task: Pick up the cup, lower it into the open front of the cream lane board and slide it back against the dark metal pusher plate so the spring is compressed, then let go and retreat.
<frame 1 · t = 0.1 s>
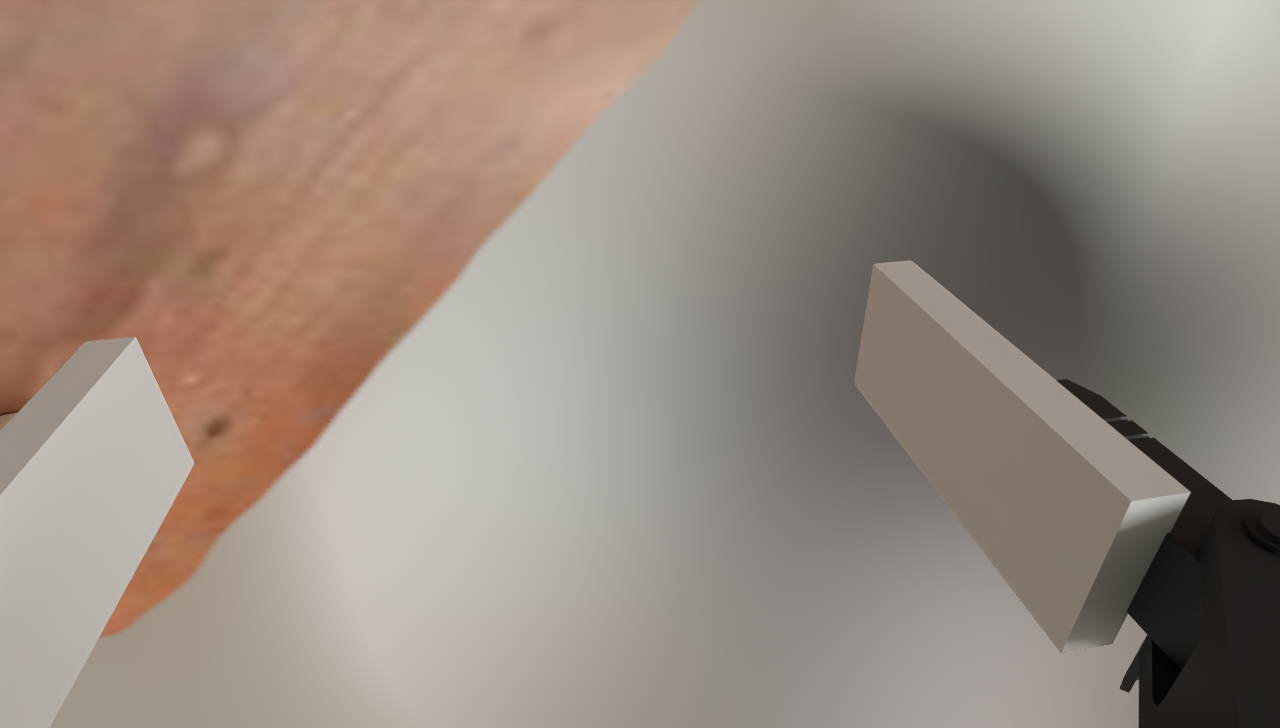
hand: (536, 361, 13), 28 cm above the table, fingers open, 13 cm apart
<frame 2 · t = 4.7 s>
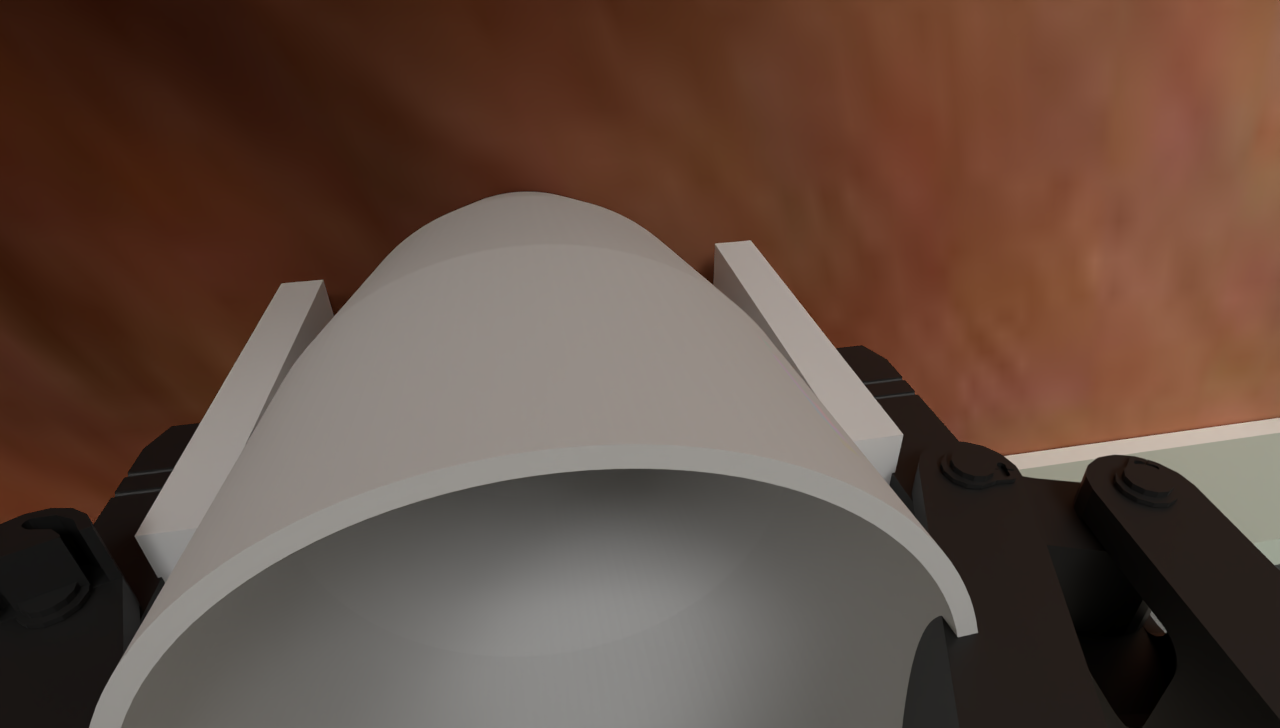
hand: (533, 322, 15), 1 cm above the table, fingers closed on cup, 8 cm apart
lane: (958, 631, 24), on the table
cup: (532, 302, 15), on the table, touching gripper
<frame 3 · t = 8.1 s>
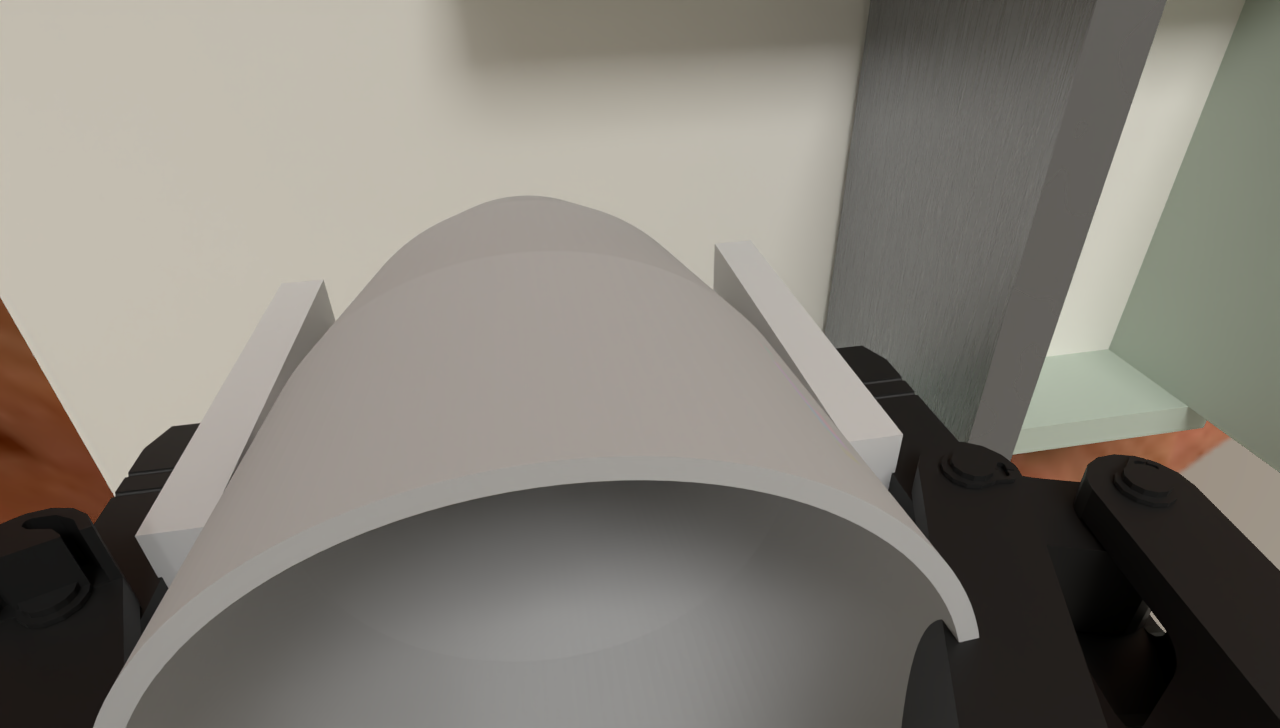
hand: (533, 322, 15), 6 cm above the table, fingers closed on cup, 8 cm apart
lane: (662, 194, 20), on the table
cup: (532, 305, 15), point 5 cm above the table, touching gripper
pusher: (932, 241, 17), point 5 cm above the table, slide at 0.0 cm
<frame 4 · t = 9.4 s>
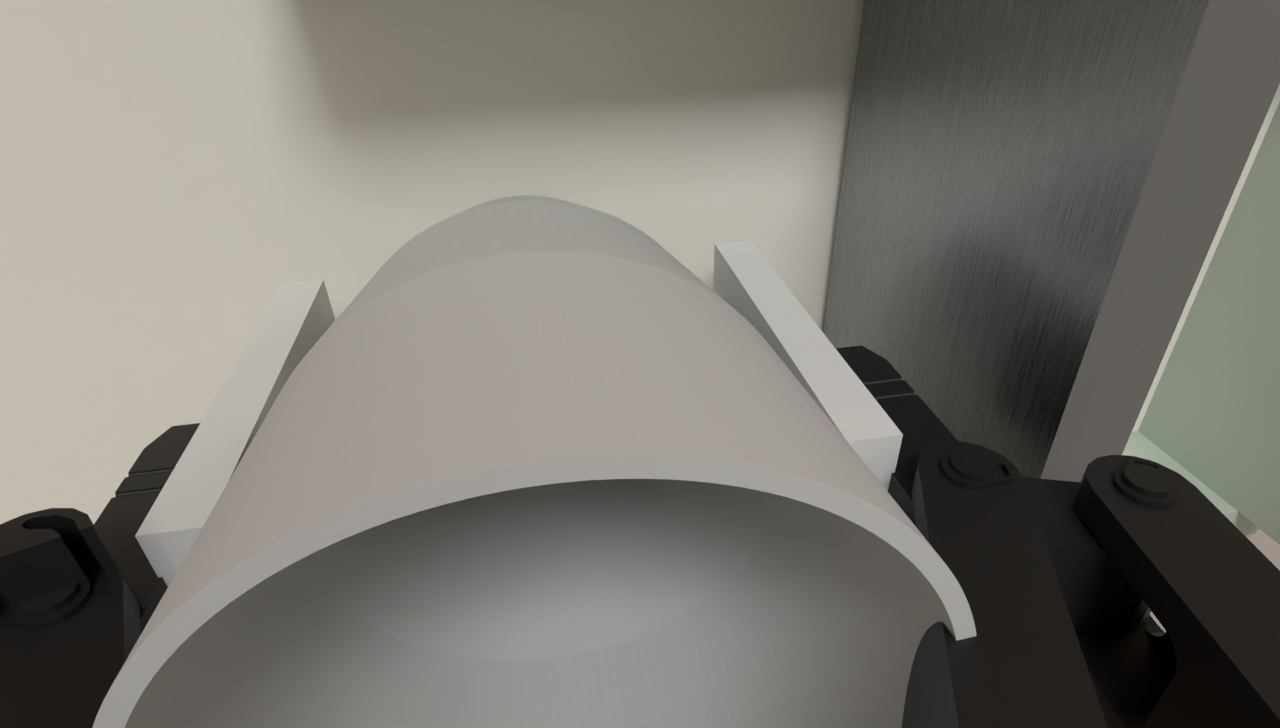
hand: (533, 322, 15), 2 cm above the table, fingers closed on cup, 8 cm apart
lane: (595, 270, 16), on the table
cup: (532, 305, 15), point 1 cm above the table, touching gripper
pusher: (941, 341, 13), point 5 cm above the table, slide at 0.4 cm, touching gripper
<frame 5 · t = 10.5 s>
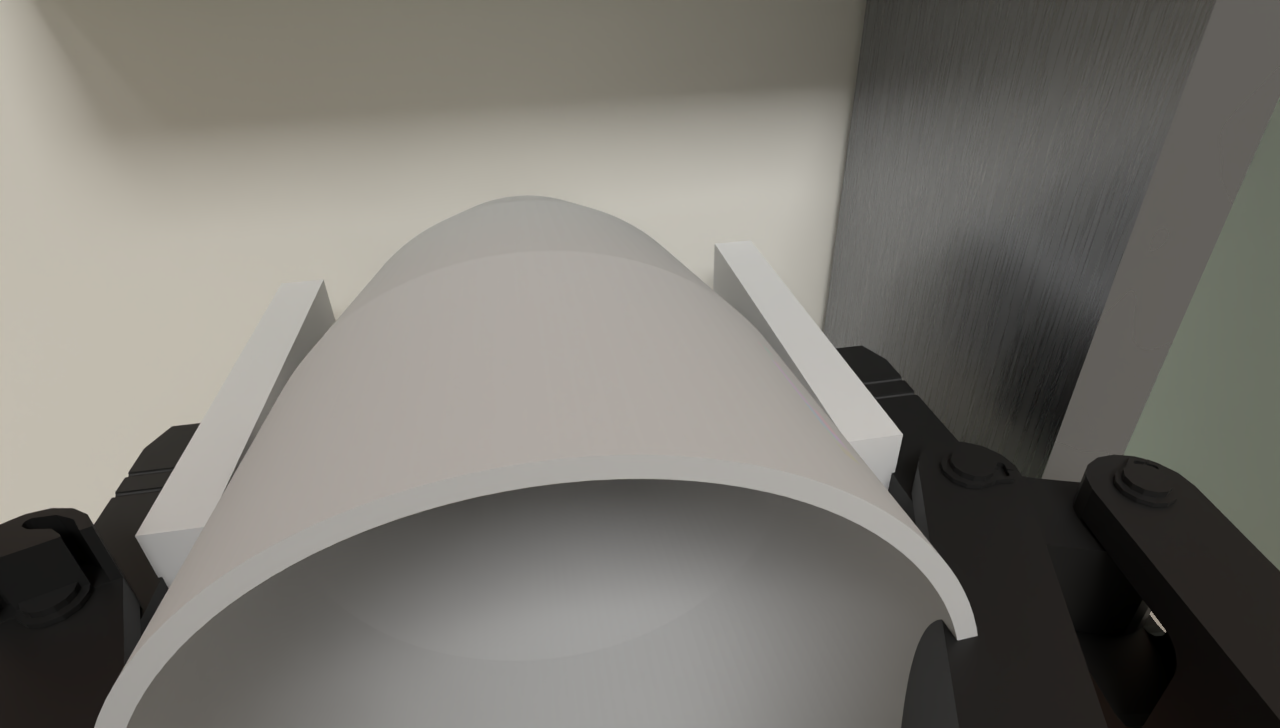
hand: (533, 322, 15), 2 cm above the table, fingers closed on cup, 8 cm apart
lane: (418, 286, 16), on the table
cup: (532, 305, 15), point 1 cm above the table, touching gripper
pusher: (942, 342, 13), point 5 cm above the table, slide at 4.3 cm, touching gripper
when the fingers open (2 cm above the table, at t = 11.5 s): cup stays where it is, resting on lane.
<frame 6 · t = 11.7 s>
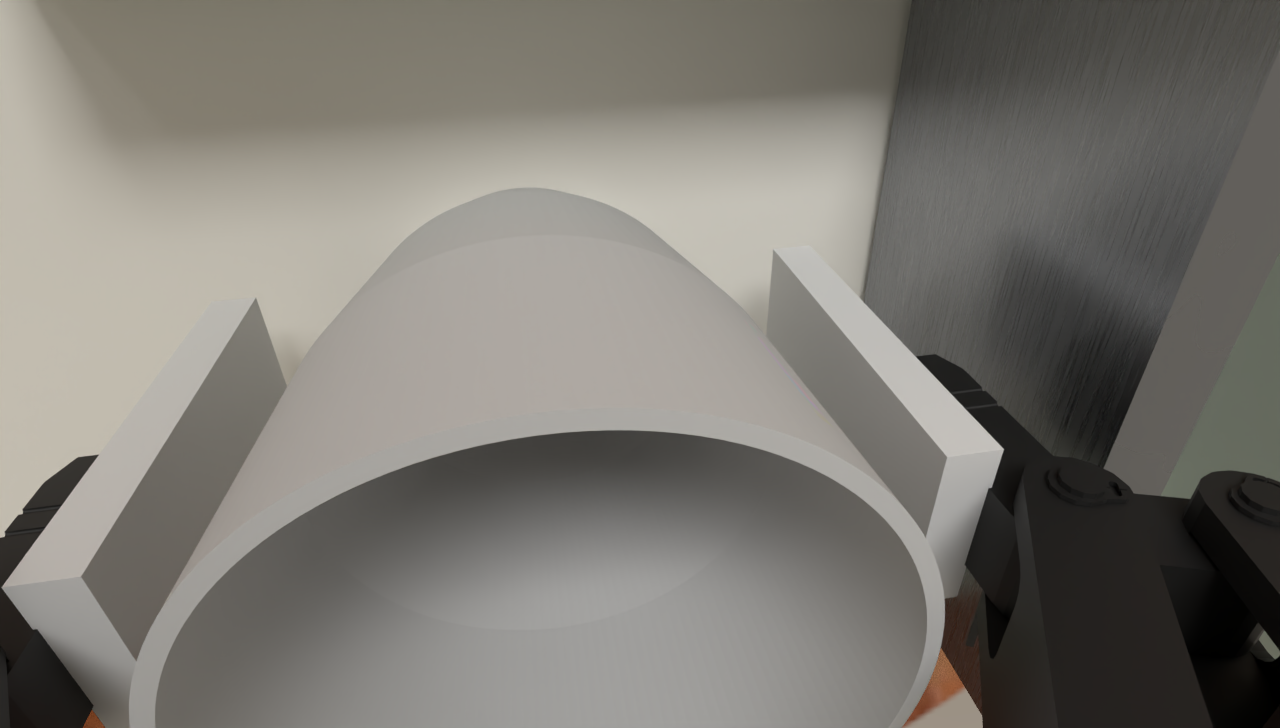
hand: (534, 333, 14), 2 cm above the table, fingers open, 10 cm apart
lane: (421, 292, 16), on the table
cup: (533, 294, 16), resting on lane
pusher: (986, 345, 13), point 5 cm above the table, slide at 5.2 cm, touching gripper
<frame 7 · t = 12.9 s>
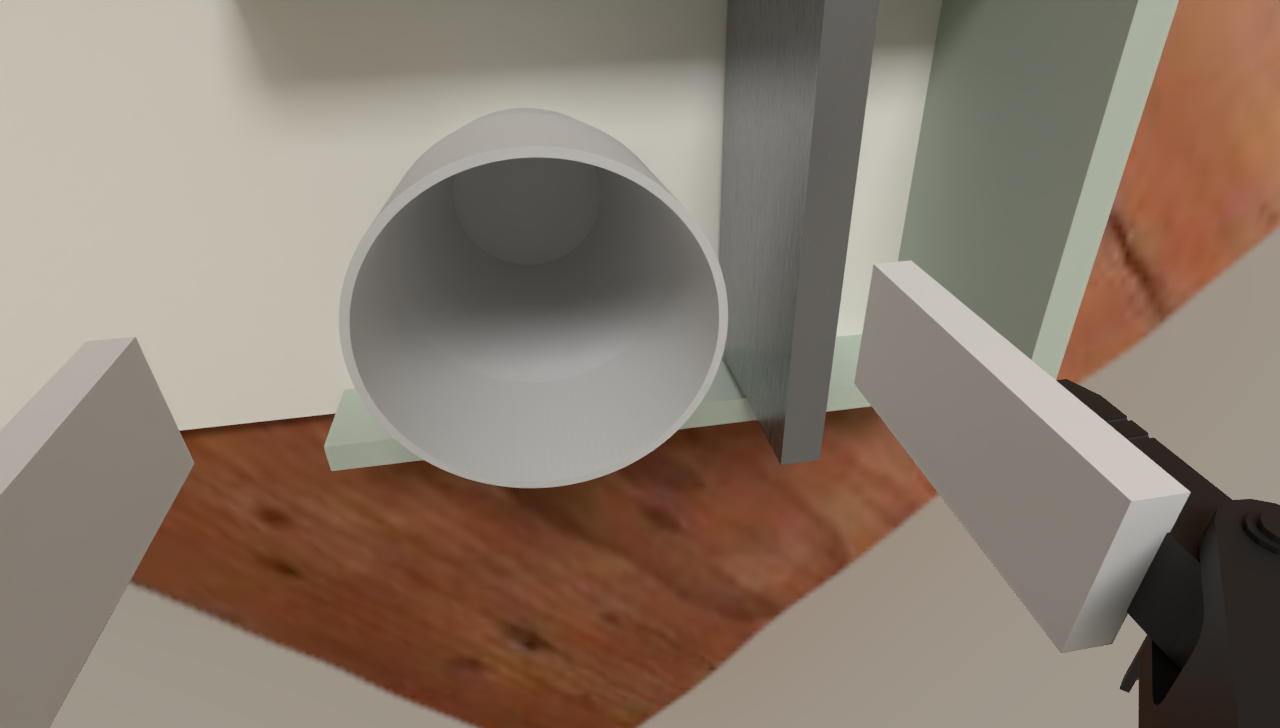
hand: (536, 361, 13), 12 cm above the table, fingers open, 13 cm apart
lane: (454, 191, 24), on the table
cup: (529, 193, 24), resting on lane
pusher: (774, 214, 21), point 5 cm above the table, slide at 3.9 cm
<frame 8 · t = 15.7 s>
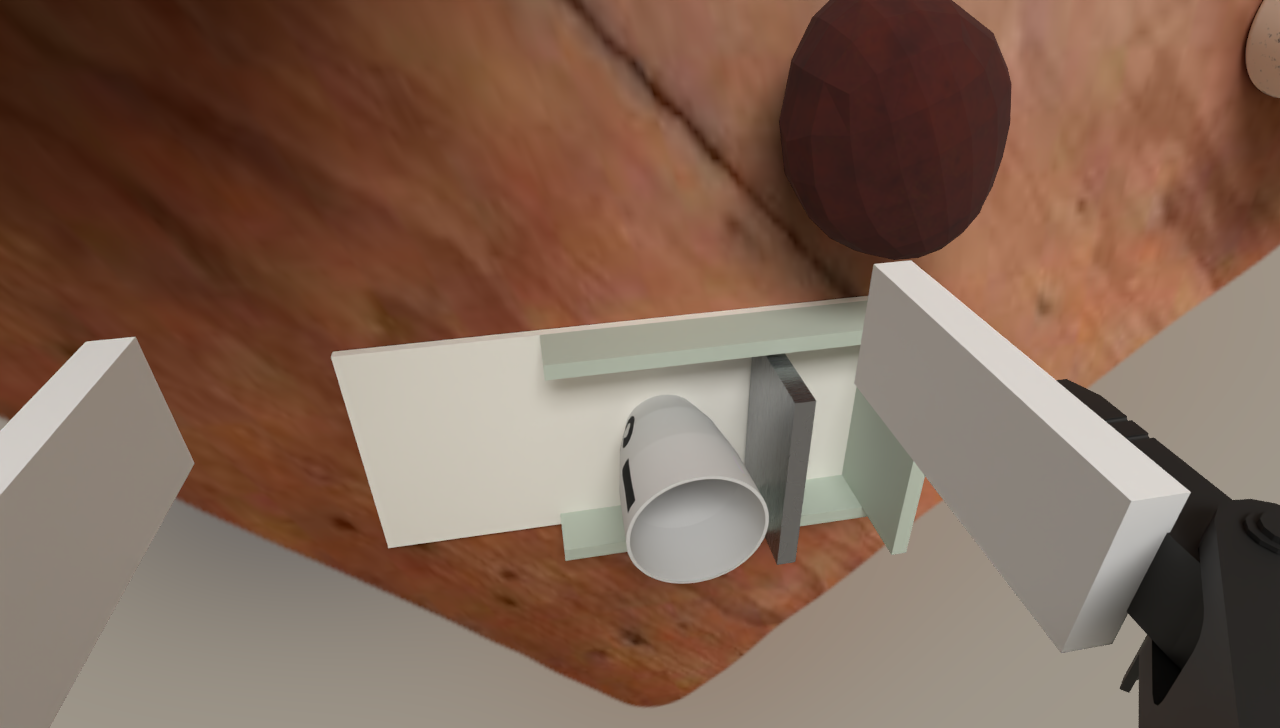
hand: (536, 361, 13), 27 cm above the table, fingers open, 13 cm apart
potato: (845, 100, 39), on the table
lane: (625, 423, 48), on the table
cup: (662, 423, 48), resting on lane
pusher: (774, 449, 45), point 5 cm above the table, slide at 3.3 cm
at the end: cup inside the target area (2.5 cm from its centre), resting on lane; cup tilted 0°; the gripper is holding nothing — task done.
